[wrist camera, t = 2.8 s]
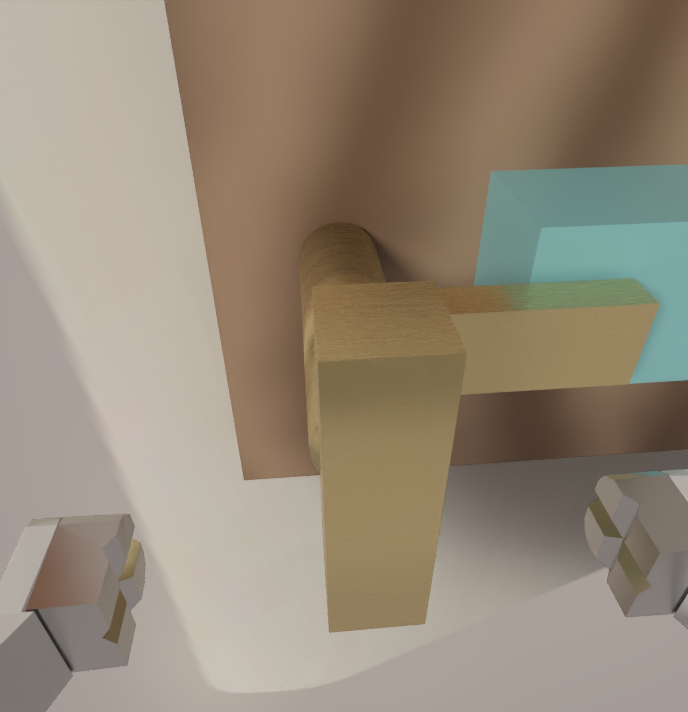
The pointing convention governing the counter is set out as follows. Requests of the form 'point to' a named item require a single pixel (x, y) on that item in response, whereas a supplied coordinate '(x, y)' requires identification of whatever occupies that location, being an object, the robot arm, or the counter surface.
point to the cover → (597, 242)
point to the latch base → (413, 178)
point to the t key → (426, 399)
